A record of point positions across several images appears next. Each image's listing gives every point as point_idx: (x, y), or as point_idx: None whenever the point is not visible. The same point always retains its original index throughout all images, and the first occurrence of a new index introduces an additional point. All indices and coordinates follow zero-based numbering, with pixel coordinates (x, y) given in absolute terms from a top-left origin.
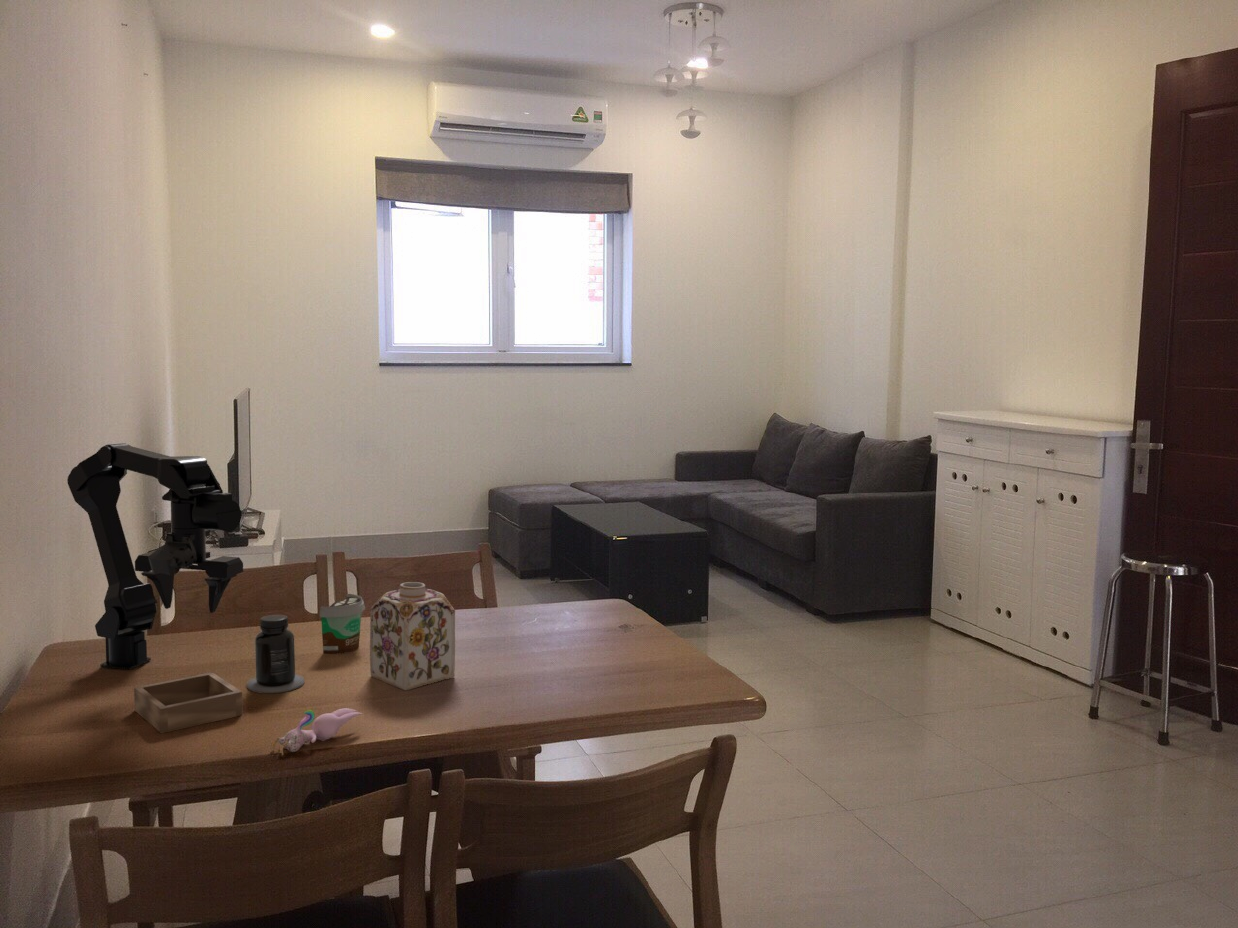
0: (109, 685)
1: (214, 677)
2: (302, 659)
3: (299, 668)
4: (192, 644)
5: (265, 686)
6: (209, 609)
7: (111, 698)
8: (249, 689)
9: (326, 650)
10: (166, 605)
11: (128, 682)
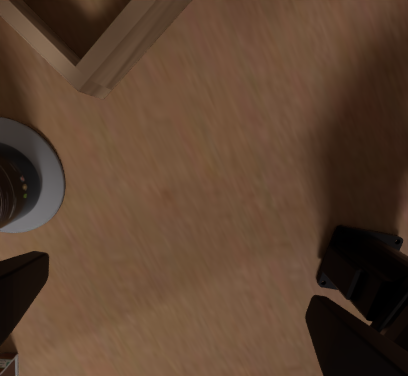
0: (342, 134)
1: (46, 43)
2: (38, 320)
3: None
4: (276, 369)
5: None
6: (33, 258)
7: (307, 49)
8: (38, 134)
9: (6, 358)
10: (324, 304)
11: (310, 156)
